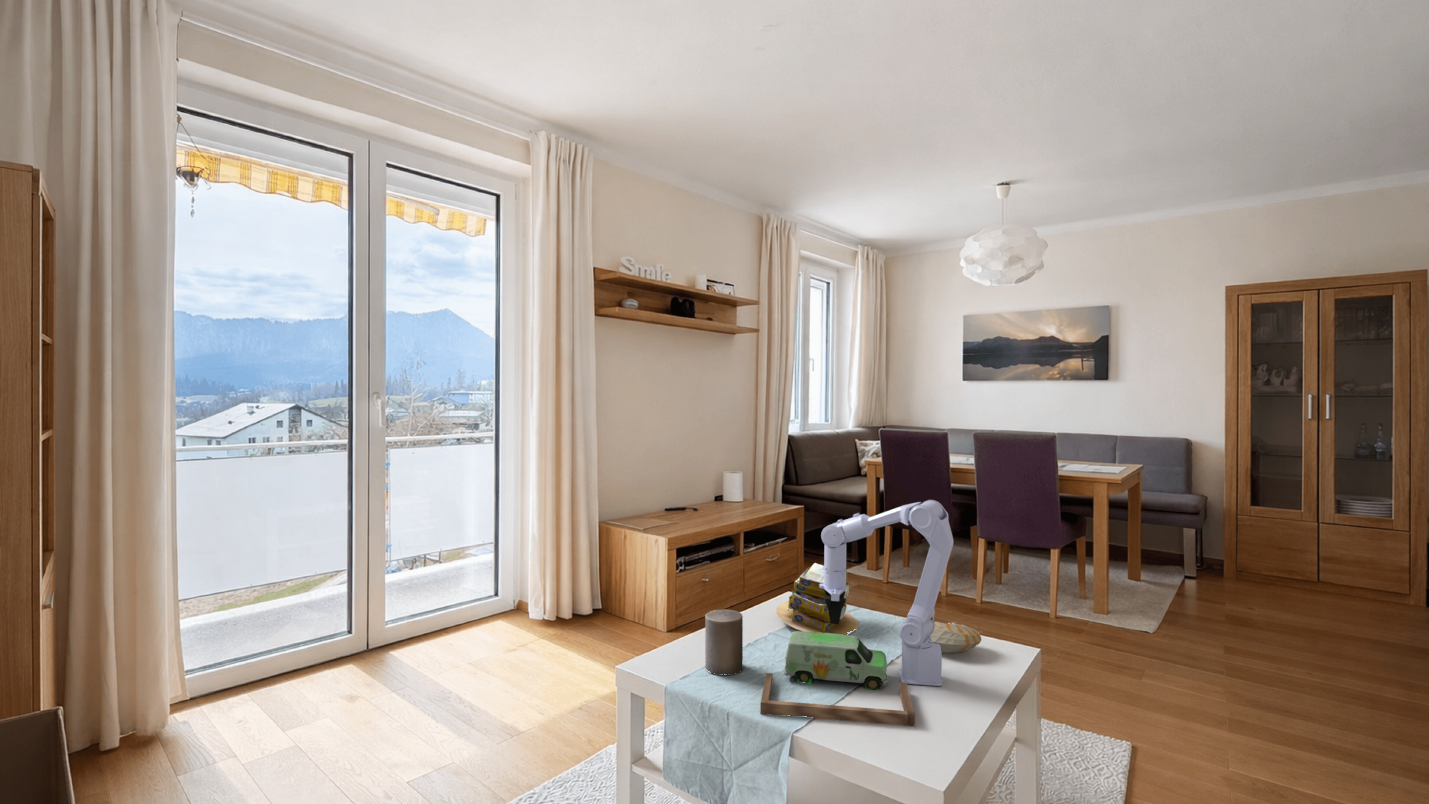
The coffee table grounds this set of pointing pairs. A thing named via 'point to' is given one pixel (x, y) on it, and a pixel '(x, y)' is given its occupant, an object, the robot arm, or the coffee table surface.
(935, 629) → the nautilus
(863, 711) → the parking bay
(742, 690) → the coffee table surface
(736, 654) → the pillar candle
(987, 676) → the coffee table surface
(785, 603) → the stacked boxes on plate
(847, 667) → the toy car
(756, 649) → the coffee table surface
